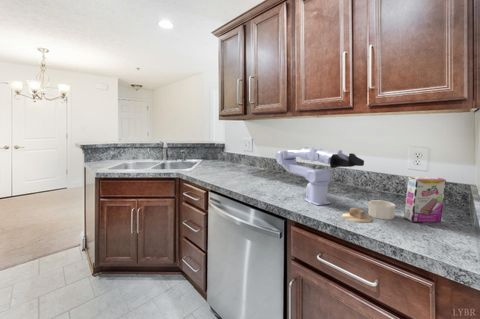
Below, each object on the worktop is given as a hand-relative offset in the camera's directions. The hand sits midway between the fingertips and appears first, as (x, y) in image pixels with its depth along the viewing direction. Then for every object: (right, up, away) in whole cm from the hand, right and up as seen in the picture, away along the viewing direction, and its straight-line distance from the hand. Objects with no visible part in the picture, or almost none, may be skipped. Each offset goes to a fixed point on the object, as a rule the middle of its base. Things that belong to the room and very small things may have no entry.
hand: (356, 163), depth 97 cm
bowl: (+11, -21, +3) cm, 24 cm away
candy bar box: (+24, -22, -2) cm, 32 cm away
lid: (0, -21, 0) cm, 21 cm away
